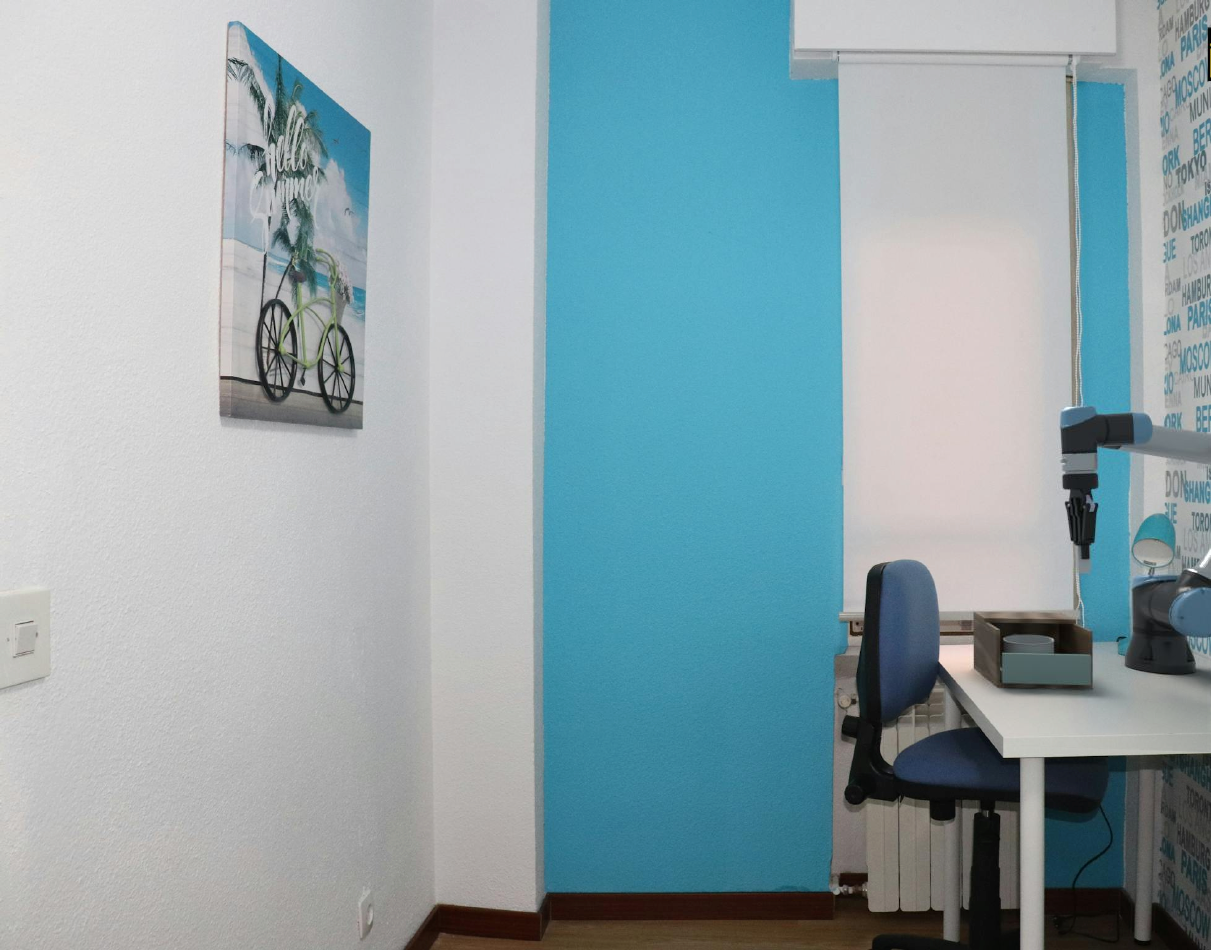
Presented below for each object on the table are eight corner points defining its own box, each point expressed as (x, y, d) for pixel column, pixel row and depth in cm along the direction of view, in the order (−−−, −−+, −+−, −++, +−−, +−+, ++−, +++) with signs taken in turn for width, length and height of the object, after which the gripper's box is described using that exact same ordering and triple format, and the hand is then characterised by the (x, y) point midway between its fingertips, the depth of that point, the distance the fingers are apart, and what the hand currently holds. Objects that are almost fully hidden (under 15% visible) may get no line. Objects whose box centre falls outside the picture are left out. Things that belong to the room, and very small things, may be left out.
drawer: (1059, 666, 226) (1059, 639, 226) (1091, 685, 207) (1091, 655, 206) (980, 664, 229) (979, 637, 229) (1003, 683, 209) (1003, 653, 209)
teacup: (1060, 678, 210) (1060, 642, 210) (1009, 676, 212) (1009, 641, 212) (1043, 665, 224) (1043, 632, 224) (995, 663, 226) (995, 630, 226)
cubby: (1061, 669, 228) (1061, 612, 228) (1092, 689, 208) (1092, 626, 208) (973, 667, 231) (973, 611, 231) (996, 686, 211) (996, 625, 211)
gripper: (1052, 472, 224) (1055, 570, 225) (1074, 473, 211) (1078, 576, 212) (1084, 471, 224) (1088, 569, 224) (1109, 472, 211) (1112, 575, 211)
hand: (1083, 573), depth 218 cm, fingers closed
